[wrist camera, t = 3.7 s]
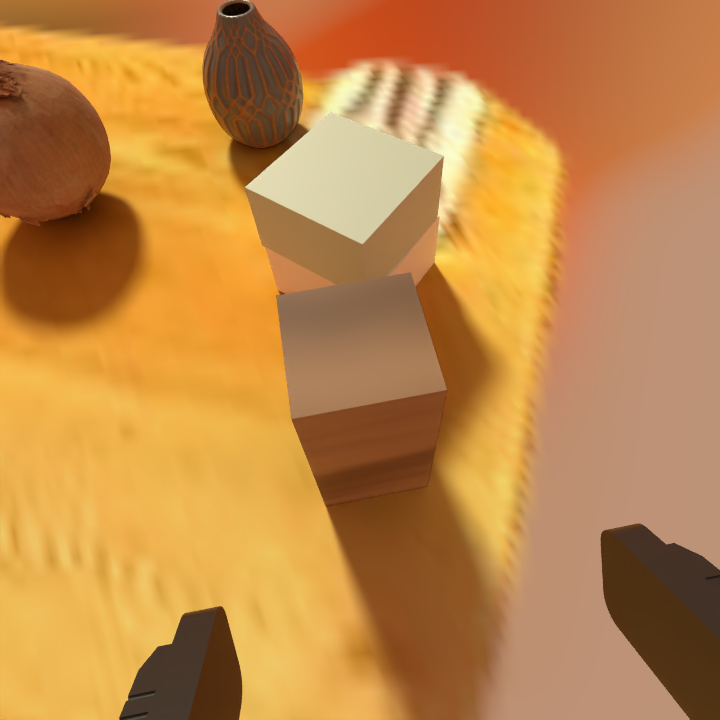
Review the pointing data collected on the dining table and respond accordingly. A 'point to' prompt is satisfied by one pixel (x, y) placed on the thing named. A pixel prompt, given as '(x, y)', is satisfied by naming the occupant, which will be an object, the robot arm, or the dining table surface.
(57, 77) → the onion
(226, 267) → the dining table surface
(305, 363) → the column
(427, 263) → the tower base
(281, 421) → the dining table surface
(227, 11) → the vase
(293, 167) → the tower mid
